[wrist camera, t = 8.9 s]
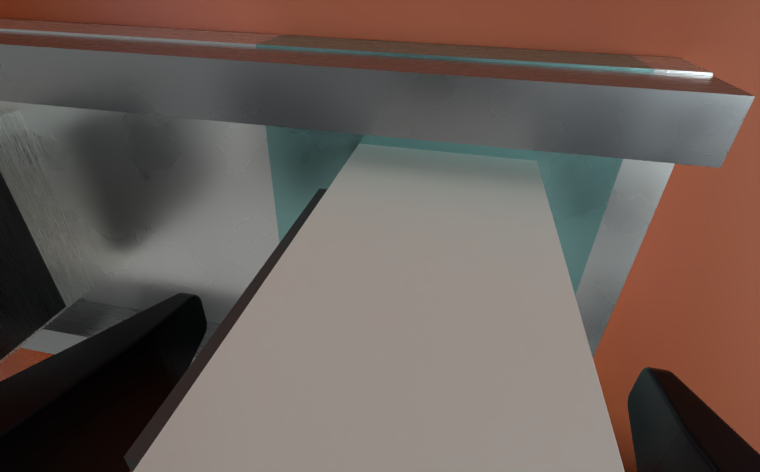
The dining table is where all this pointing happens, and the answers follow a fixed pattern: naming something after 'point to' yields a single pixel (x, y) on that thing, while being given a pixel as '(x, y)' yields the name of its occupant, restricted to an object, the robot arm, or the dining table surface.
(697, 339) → the dining table surface
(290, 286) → the white rectangular block
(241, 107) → the rail
